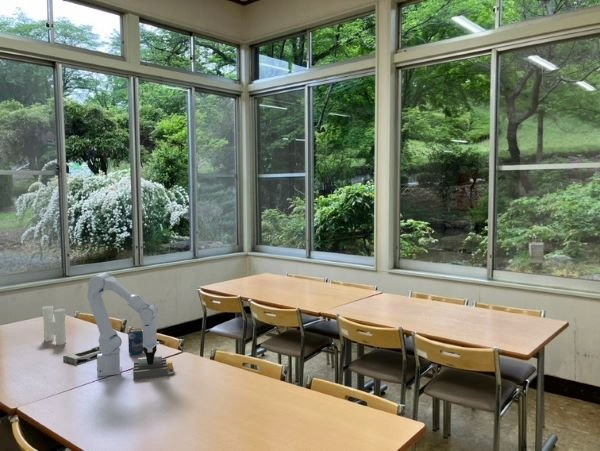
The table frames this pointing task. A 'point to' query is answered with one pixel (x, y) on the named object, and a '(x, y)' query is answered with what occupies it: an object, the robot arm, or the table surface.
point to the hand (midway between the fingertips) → (150, 363)
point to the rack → (153, 370)
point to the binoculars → (54, 324)
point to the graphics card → (82, 356)
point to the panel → (143, 363)
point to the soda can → (135, 342)
